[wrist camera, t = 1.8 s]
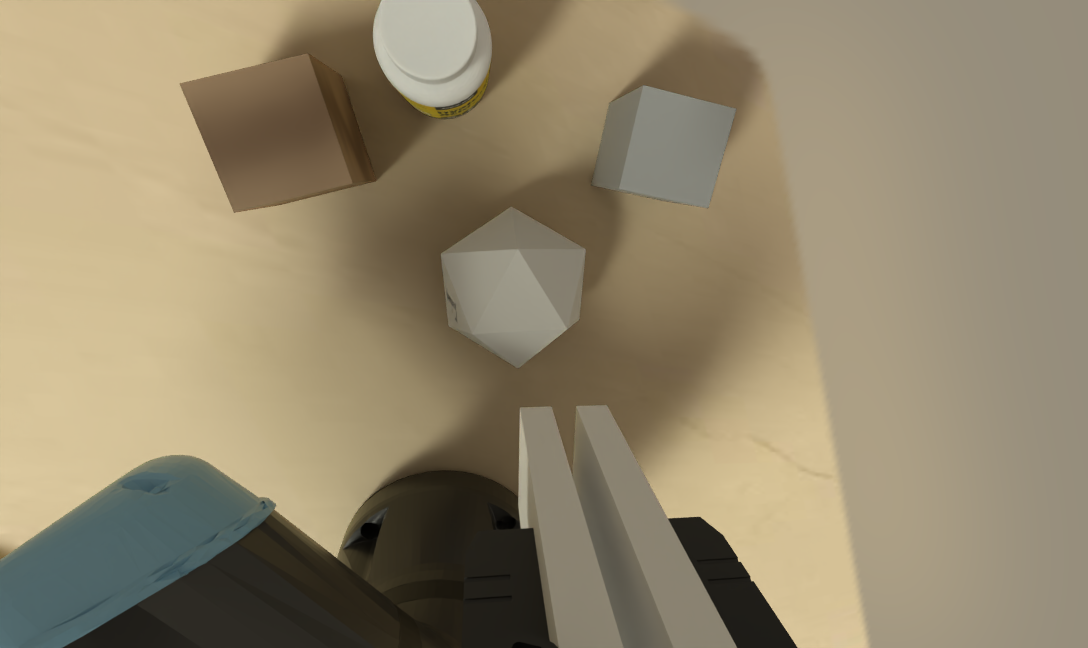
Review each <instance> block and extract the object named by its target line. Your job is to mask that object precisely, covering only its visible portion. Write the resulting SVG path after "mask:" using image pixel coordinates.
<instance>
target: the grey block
mask: <svg viewBox="0 0 1088 648" xmlns="http://www.w3.org/2000/svg"><path fill="white" fill-rule="evenodd" d="M735 112H736V109H735V108H731V107H727V106H723V105H720V104H716V103H712V102H708V101H704V100H700V99H696V98H692V97H688V96H684V95H680V94H676V93H673V92H669V91H665V90H661V89H657V88H653V87H649V86H645V85H643V86H641V87H639V88H637V89H635V90H633V91H631V92H630V93H628V94H626V95H624V96H622V97H620V98H618V99H616V100H615V101H613V102H611V103H609V107H608V111H607V116H606V120H605V125H604V129H603V134H602V138H601V143H600V147H599V152H598V156H597V161H596V165H595V170H594V174H593V179H592V183H591V185H592V186H596V187H601V188H606V189H610V190H615V191H619V192H624V193H629V194H633V195H638V196H643V197H647V198H652V199H657V200H661V201H667V202H673V203H679V204H685V205H691V206H697V207H703V208H709V204H710V200H711V197H712V193H713V190H714V186H715V183H716V179H717V176H718V172H719V169H720V165H721V162H722V158H723V155H724V151H725V148H726V144H727V141H728V137H729V134H730V130H731V127H732V123H733V120H734V116H735Z"/></svg>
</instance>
